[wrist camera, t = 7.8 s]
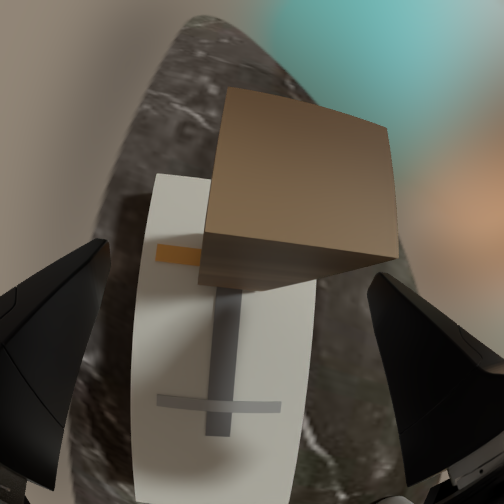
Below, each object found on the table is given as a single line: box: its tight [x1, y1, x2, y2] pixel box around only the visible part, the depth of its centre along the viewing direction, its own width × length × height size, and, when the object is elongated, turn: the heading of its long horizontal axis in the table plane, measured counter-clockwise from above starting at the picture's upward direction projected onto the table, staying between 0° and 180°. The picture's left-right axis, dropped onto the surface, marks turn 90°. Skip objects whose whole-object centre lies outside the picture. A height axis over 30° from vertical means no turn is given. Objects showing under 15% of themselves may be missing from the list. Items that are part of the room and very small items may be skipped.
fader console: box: [131, 174, 316, 504], centre depth 14 cm, size 18×9×3 cm, turn 175°
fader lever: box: [197, 87, 399, 291], centre depth 9 cm, size 2×3×10 cm
